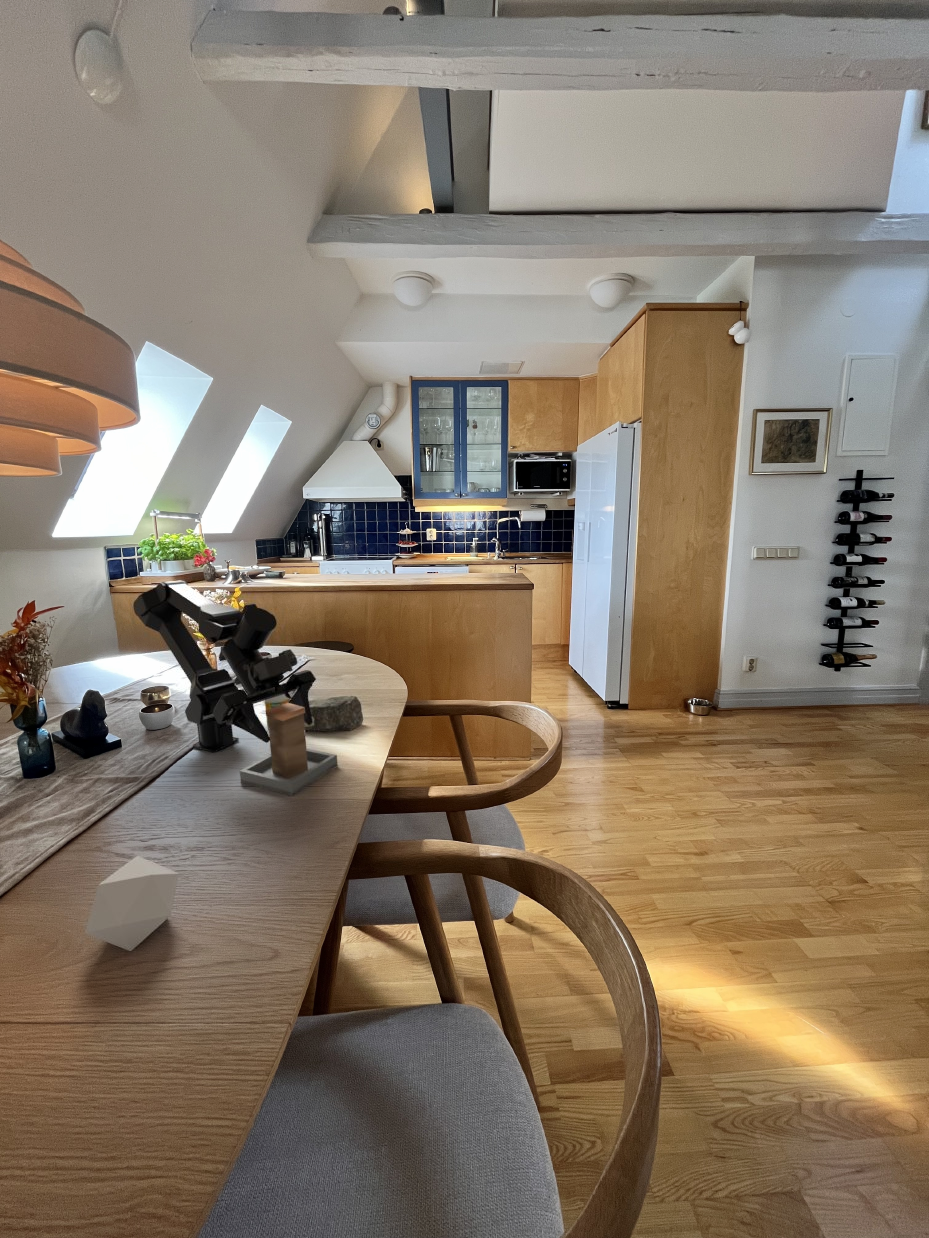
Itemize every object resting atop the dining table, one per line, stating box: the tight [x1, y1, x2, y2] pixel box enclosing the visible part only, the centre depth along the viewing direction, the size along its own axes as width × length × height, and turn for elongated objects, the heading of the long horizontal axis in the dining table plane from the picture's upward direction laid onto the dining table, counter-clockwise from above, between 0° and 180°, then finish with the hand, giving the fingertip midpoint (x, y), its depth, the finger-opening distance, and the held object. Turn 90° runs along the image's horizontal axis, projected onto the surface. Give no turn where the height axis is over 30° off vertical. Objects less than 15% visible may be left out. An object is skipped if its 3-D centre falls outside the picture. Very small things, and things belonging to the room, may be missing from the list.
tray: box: [239, 748, 338, 797], centre depth 95 cm, size 12×12×2 cm
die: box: [84, 855, 180, 952], centre depth 58 cm, size 8×9×10 cm
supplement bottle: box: [264, 682, 290, 729], centre depth 118 cm, size 5×5×10 cm
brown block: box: [264, 703, 308, 779], centre depth 94 cm, size 5×5×12 cm
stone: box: [304, 695, 364, 732], centre depth 116 cm, size 14×8×10 cm, turn 99°
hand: (290, 732), depth 93 cm, fingers open, 9 cm apart
